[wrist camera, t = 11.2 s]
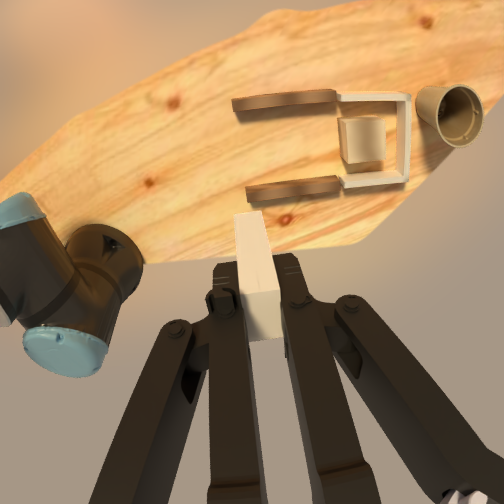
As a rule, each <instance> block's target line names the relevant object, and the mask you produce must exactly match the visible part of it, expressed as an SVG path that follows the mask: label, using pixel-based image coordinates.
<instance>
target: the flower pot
mask: <svg viewBox="0 0 504 504" xmlns="http://www.w3.org/2000/svg"><path fill="white" fill-rule="evenodd" d="M416 110H417V113H418V115H419V116H420V118H421V119H422V120H424V121H425V122H426V123H428V124H429V125H430V126H432V127H433V128H434V129H435V130H437V132H438V133H439V135H440V136H441V138H442V139H443V140H444V142H446V143H447V144H448V145H450V146H452V147H455V148H463V147H466V146H469V145H470V144H472V143H473V142H474V141H475V140H476V139H477V138H478V136H479V134H480V132H481V130H482V127H483V123H484V108H483V104H482V102H481V99H480V97H479V96H478V94H477V93H476V92H475V91H474V90H473V89H472V88H470V87H468V86H466V85H462V84H457V85H453V86H450V87H437V86H427V87H424V88H423V89H422V90H421V91H420V92H419V93H418V95H417V98H416ZM440 110H441V111H442V112H441V114H440V115H439V116H438V113H439V112H440Z"/></svg>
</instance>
